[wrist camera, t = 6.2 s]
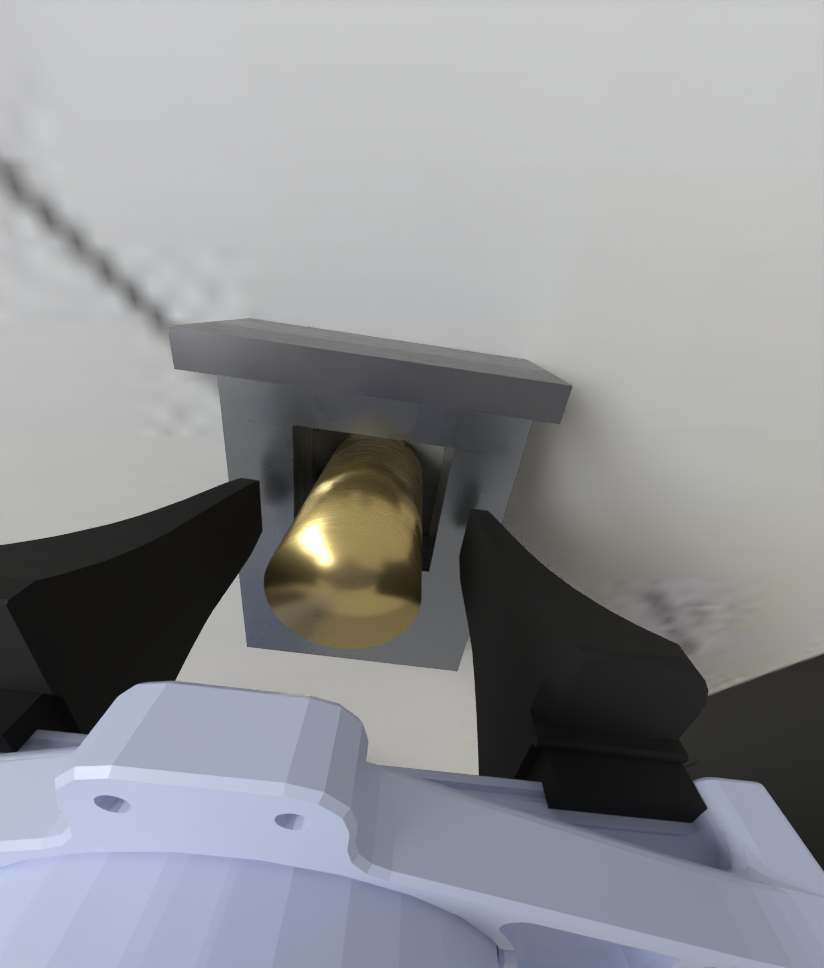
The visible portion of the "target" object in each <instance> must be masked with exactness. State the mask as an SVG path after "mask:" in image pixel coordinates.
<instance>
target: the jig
mask: <svg viewBox="0 0 824 968" xmlns="http://www.w3.org/2000/svg"><path fill="white" fill-rule="evenodd" d="M168 332H169V338H170V344H171V350H172V356H173V363H174V369H180V370H187V371H194V372H200V373H207V374H214V375H217V377H218V386H219V395H220V404H221V413H222V423H223V432H224V441H225V450H226V459H227V468H228V477H229V482H230V481H232V480H235V479H239V478H246V479H254V480H259V482H260V497H261V512H262V527H263V531H262V533H261V535H260V538H259V540H258V542H257V544H256V546H255V548H254V550H253V552H252V554H251V556H250V557H249V559H248V560H247V562H246V563H245V565H244V566H243V567H242V569H241V570H240V572H239V578H240V587H241V596H242V605H243V614H244V623H245V632H246V642H247V647H253V648H262V649H270V650H279V651H288V652H296V653H305V654H314V655H322V656H331V657H340V658H348V659H357V660H366V661H374V662H383V663H391V664H400V665H409V666H417V667H426V668H435V669H443V670H452V671H458V668H459V665H460V661H461V658H462V655H463V651H464V648H465V645H466V641H467V638H468V635H469V627H468V622H467V616H466V611H465V606H464V600H463V595H462V589H461V583H460V569H459V554H460V550H461V546H462V542H463V538H464V534H465V530H466V526H467V522H468V518H469V514H470V510H471V508H472V509H479V510H487V511H489V512H490V513H491V514H492V515H493V516H494V517H495V518H496V519H497V520H498V521H499V522H500V523H501V524H502V522H503V519H504V515H505V512H506V509H507V505H508V502H509V499H510V495H511V492H512V489H513V485H514V482H515V479H516V475H517V472H518V469H519V465H520V462H521V459H522V456H523V452H524V449H525V446H526V442H527V439H528V436H529V432H530V429H531V426H532V422H533V420H535V421H542V422H549V423H556V424H560V421H561V418H562V415H563V412H564V409H565V406H566V403H567V400H568V397H569V395H570V392H571V389H572V385H570V384H568V383H567V382H565V381H563V380H561V379H559V378H558V377H556V376H554V375H552V374H551V373H549V372H547V371H545V370H543V369H542V368H540V367H538V366H536V365H535V364H533V363H531V362H529V361H528V360H524V359H517V358H511V357H504V356H497V355H491V354H484V353H477V352H471V351H464V350H457V349H451V348H444V347H437V346H431V345H424V344H417V343H411V342H404V341H397V340H390V339H384V338H377V337H370V336H364V335H357V334H350V333H344V332H337V331H330V330H324V329H317V328H310V327H304V326H297V325H290V324H284V323H277V322H270V321H263V320H257V319H250V318H247V319H236V320H226V321H215V322H205V323H195V324H184V325H174V326H168ZM313 428H317V429H324V430H331V431H339V432H346V433H353V434H360V435H367V436H374V437H382V438H389V439H396V440H403V441H410V442H418V443H425V444H432V445H439V446H445V452H444V457H443V462H442V467H441V472H440V478H439V483H438V488H437V493H436V499H435V504H434V509H433V514H432V519H431V525H430V530H429V535H428V536H426V535H422V599H421V606H420V610H419V613H418V615H417V617H416V619H415V621H414V622H413V623H412V625H411V626H410V627H409V628H408V629H407V630H406V631H405V632H404V633H402V634H401V635H400V636H399V637H397V638H395V639H393V640H392V641H389V642H387V643H385V644H382V645H379V646H375V647H370V648H364V649H339V648H332V647H328V646H324V645H320V644H317V643H314V642H312V641H309V640H307V639H305V638H303V637H301V636H300V635H298V634H296V633H295V632H293V631H292V630H290V629H289V628H288V627H287V626H285V625H284V624H283V623H282V622H281V621H280V620H279V619H278V617H277V616H276V615H275V614H274V612H273V611H272V609H271V608H270V606H269V604H268V602H267V599H266V596H265V591H264V575H265V570H266V568H267V565H268V563H269V561H270V560H271V558H272V556H273V555H274V553H275V551H276V549H277V548H278V546H279V544H280V543H281V541H282V539H283V538H284V536H285V534H286V533H287V531H288V529H289V528H290V526H291V524H292V522H293V521H294V519H295V517H296V516H297V514H298V512H299V511H300V509H301V507H302V506H303V504H304V502H305V501H306V499H307V497H308V495H309V494H310V492H311V490H312V483H313Z"/></svg>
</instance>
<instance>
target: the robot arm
mask: <svg viewBox="0 0 824 968" xmlns="http://www.w3.org/2000/svg"><path fill="white" fill-rule="evenodd" d="M262 531H263V527H262V512H261V497H260V482H259V480H254V479H246V478H239V479H235V480H232V481H230V482H227V483H224V484H222V485H219V486H217V487H214V488H212V489H210V490H207V491H205V492H202V493H200V494H197V495H195V496H192V497H190V498H187V499H185V500H182V501H179V502H177V503H174V504H171V505H168V506H166V507H163V508H160V509H158V510H155V511H152V512H149V513H146V514H143V515H140V516H136V517H133V518H130V519H126V520H123V521H119V522H116V523H112V524H108V525H104V526H100V527H95V528H91V529H87V530H82V531H78V532H73V533H69V534H64V535H59V536H54V537H49V538H43V539H38V540H31V541H25V542H19V543H13V544H6V545H0V968H824V872H823V870H822V869H821V867H820V866H819V865H818V863H817V862H816V860H815V859H814V857H813V856H812V855H811V853H810V852H809V850H808V849H807V848H806V846H805V845H804V843H803V842H802V840H801V839H800V837H799V836H798V835H797V833H796V832H795V830H794V829H793V828H792V826H791V825H790V823H789V822H788V821H787V819H786V818H785V816H784V815H783V813H782V812H781V810H780V809H779V808H778V806H777V805H776V803H775V802H774V801H773V799H772V798H771V796H770V795H769V793H768V792H767V790H766V789H765V788H764V786H763V785H762V784H759V783H757V782H751V781H742V780H732V779H723V778H714V777H711V778H710V777H708V778H701V779H697V780H694V781H693V782H692V780H691V778H690V776H689V775H688V773H687V771H686V769H685V767H684V766H683V764H682V763H686V762H687V761H688V754H687V752H686V751H685V749H684V747H683V746H682V744H681V742H680V740H679V737H680V736H681V735H682V734H683V733H684V732H685V730H686V729H687V728H688V727H689V725H690V724H691V723H692V722H693V721H694V720H695V719H696V718H697V716H698V715H699V714H700V712H701V711H702V709H703V707H704V706H705V704H706V701H707V695H708V688H707V685H706V682H705V680H704V678H703V677H702V676H701V674H700V673H699V672H698V670H697V669H696V668H695V666H694V665H693V664H692V662H691V661H690V660H689V658H688V657H687V656H686V654H685V653H684V651H683V650H682V649H681V647H680V646H679V645H678V644H676V643H674V642H672V641H669V640H667V639H665V638H663V637H661V636H659V635H657V634H655V633H652V632H650V631H648V630H646V629H644V628H642V627H640V626H637V625H635V624H634V623H632V622H630V621H628V620H626V619H624V618H622V617H620V616H619V615H617V614H615V613H613V612H611V611H609V610H608V609H606V608H604V607H603V606H601V605H599V604H598V603H596V602H594V601H593V600H591V599H590V598H588V597H587V596H585V595H583V594H582V593H580V592H579V591H577V590H576V589H574V588H573V587H571V586H570V585H569V584H567V583H566V582H564V581H563V580H562V579H560V578H559V577H558V576H557V575H555V574H554V573H553V572H551V571H550V570H549V569H548V568H546V567H545V566H544V565H543V564H542V563H540V562H539V561H538V560H537V559H536V558H535V557H534V556H533V555H532V554H530V553H529V552H528V551H527V550H526V549H525V548H524V547H523V546H522V545H521V544H520V543H519V542H518V541H517V540H516V539H515V538H514V537H513V536H512V535H511V534H510V533H509V532H508V531H507V530H506V529H505V527H504V526H503V525H502V524H501V523H500V522H499V521H498V520H497V519H496V518H495V517H494V516H493V515H492V514H491V513H490V512H489V511H487V510H479V509H472V508H471V510H470V514H469V518H468V522H467V526H466V530H465V534H464V538H463V542H462V546H461V550H460V554H459V569H460V583H461V589H462V595H463V600H464V606H465V611H466V616H467V622H468V627H469V633H470V638H471V645H472V653H473V666H474V679H475V695H476V711H477V733H478V759H479V776H478V775H468V774H459V773H449V772H440V771H430V770H420V769H411V768H401V767H392V766H382V765H376V764H373V763H370V762H366V756H367V748H368V738H367V735H366V732H365V729H364V726H363V723H362V722H361V721H360V719H359V718H358V717H356V716H355V715H354V714H352V713H351V712H350V711H348V710H347V709H346V708H344V707H343V706H342V705H340V704H338V703H335V702H331V701H327V700H324V699H320V698H316V697H313V696H306V695H297V694H288V693H279V692H270V691H261V690H252V689H243V688H234V687H225V686H216V685H207V684H198V683H189V682H180V681H175V680H176V678H177V676H178V674H179V672H180V670H181V668H182V666H183V664H184V662H185V660H186V658H187V656H188V654H189V652H190V650H191V648H192V646H193V645H194V643H195V641H196V639H197V637H198V635H199V634H200V632H201V630H202V628H203V626H204V624H205V623H206V621H207V619H208V618H209V616H210V614H211V613H212V611H213V610H214V608H215V607H216V605H217V604H218V602H219V601H220V599H221V598H222V596H223V595H224V594H225V592H226V591H227V589H228V588H229V586H230V585H231V583H232V582H233V581H234V579H235V578H236V576H237V575H238V573H239V572H240V570H241V569H242V567H243V566H244V565H245V563H246V562H247V560H248V559H249V557H250V556H251V554H252V552H253V550H254V548H255V546H256V544H257V542H258V540H259V538H260V535H261V533H262Z"/></svg>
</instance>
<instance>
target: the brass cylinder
mask: <svg viewBox="0 0 824 968" xmlns="http://www.w3.org/2000/svg"><path fill="white" fill-rule="evenodd" d="M264 591H265V596H266V599H267V602H268V604H269V606H270V608H271V609H272V611H273V612H274V614H275V615H276V616H277V617H278V619H279V620H280V621H281V622H282V623H283V624H284V625H285V626H287V627H288V628H289V629H290V630H292V631H293V632H295V633H296V634H298V635H300V636H301V637H303V638H305V639H307V640H309V641H312V642H314V643H317V644H320V645H324V646H328V647H332V648H339V649H364V648H370V647H375V646H379V645H382V644H385V643H387V642H389V641H392V640H393V639H395V638H397V637H399V636H400V635H401V634H402V633H404V632H405V631H406V630H407V629H408V628H409V627H410V626H411V625H412V623H413V622H414V621H415V619H416V617H417V615H418V613H419V610H420V606H421V599H422V468H421V464H420V461H419V459H418V457H417V455H416V454H415V452H414V451H413V449H412V448H411V447H410V446H409V445H408V444H407V443H405V442H404V441H403V440H396V439H389V438H382V437H374V436H367V435H360V434H355V435H353V436H351V437H349V438H347V439H346V440H344V441H343V442H342V443H341V444H340V445H339V446H338V447H337V448H336V450H335V452H334V453H333V455H332V457H331V458H330V460H329V462H328V463H327V465H326V467H325V468H324V470H323V472H322V473H321V475H320V477H319V479H318V480H317V482H316V484H315V485H314V487H313V489H312V490H311V492H310V494H309V495H308V497H307V499H306V501H305V502H304V504H303V506H302V507H301V509H300V511H299V512H298V514H297V516H296V517H295V519H294V521H293V522H292V524H291V526H290V528H289V529H288V531H287V533H286V534H285V536H284V538H283V539H282V541H281V543H280V544H279V546H278V548H277V549H276V551H275V553H274V555H273V556H272V558H271V560H270V561H269V563H268V565H267V568H266V570H265V575H264Z"/></svg>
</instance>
